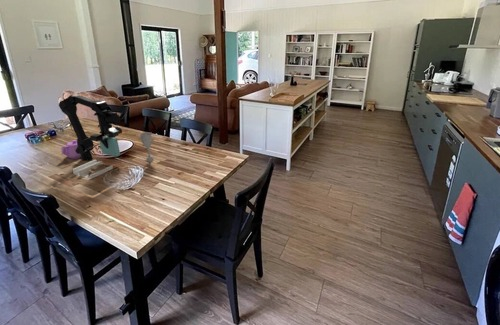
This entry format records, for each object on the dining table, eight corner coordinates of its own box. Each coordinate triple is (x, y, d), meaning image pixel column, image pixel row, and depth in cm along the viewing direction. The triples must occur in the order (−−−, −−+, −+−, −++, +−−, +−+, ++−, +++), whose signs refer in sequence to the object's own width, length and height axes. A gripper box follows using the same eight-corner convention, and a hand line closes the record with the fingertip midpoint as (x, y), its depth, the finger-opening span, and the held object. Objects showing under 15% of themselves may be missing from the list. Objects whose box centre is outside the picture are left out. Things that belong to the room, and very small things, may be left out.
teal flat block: (116, 156, 166) (112, 139, 161) (102, 153, 170) (98, 137, 166) (120, 154, 168) (116, 137, 164) (106, 152, 173) (102, 135, 168)
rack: (74, 176, 156) (72, 169, 154) (96, 166, 169) (95, 159, 167) (91, 180, 151) (89, 173, 150) (113, 169, 164) (111, 163, 162)
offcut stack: (88, 175, 155) (86, 169, 154) (103, 168, 163) (101, 163, 162) (94, 176, 153) (92, 170, 152) (108, 169, 162) (107, 164, 160)
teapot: (98, 152, 191) (95, 137, 186) (70, 162, 175) (65, 146, 170) (87, 149, 197) (83, 134, 192) (58, 158, 181) (53, 143, 176)
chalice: (143, 162, 174) (139, 135, 167) (144, 158, 180) (140, 132, 173) (155, 161, 176) (151, 134, 168) (156, 157, 182) (152, 131, 174)
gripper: (100, 128, 150) (106, 154, 157) (126, 120, 166) (131, 144, 172) (86, 126, 154) (92, 151, 161) (113, 118, 170) (118, 142, 176)
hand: (109, 147), depth 167 cm, fingers closed on teal flat block, 3 cm apart
